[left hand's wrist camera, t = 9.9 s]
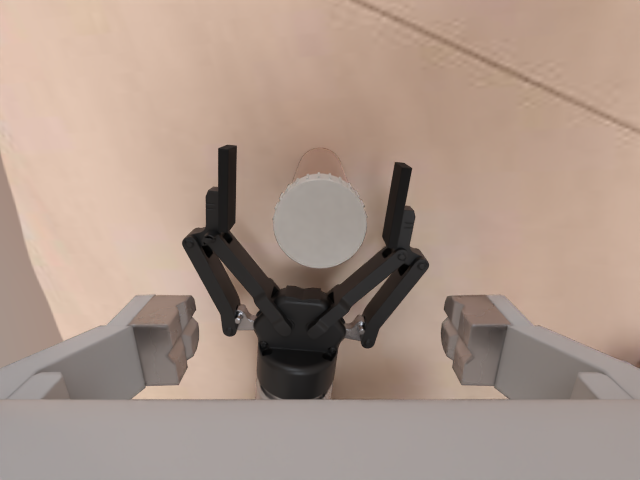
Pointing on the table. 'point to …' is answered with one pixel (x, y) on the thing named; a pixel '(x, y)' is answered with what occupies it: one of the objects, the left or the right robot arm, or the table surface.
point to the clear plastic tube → (320, 164)
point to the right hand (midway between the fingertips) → (316, 155)
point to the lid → (320, 221)
